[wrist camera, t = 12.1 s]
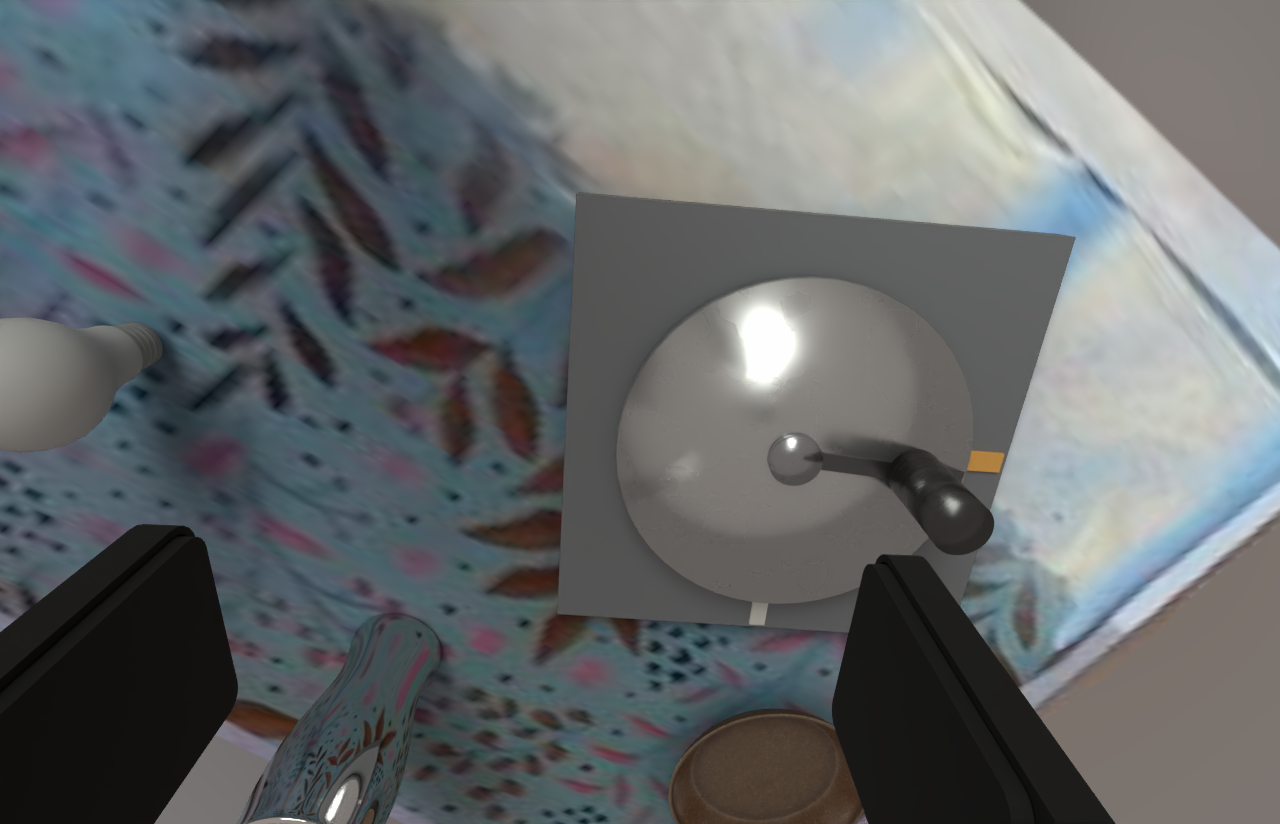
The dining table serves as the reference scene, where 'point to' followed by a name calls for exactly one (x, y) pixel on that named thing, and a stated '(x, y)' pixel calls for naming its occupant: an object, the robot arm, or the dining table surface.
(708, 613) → the dial plate
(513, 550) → the dining table surface
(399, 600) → the dining table surface
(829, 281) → the dial
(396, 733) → the beer glass
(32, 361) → the lightbulb
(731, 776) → the saucer
